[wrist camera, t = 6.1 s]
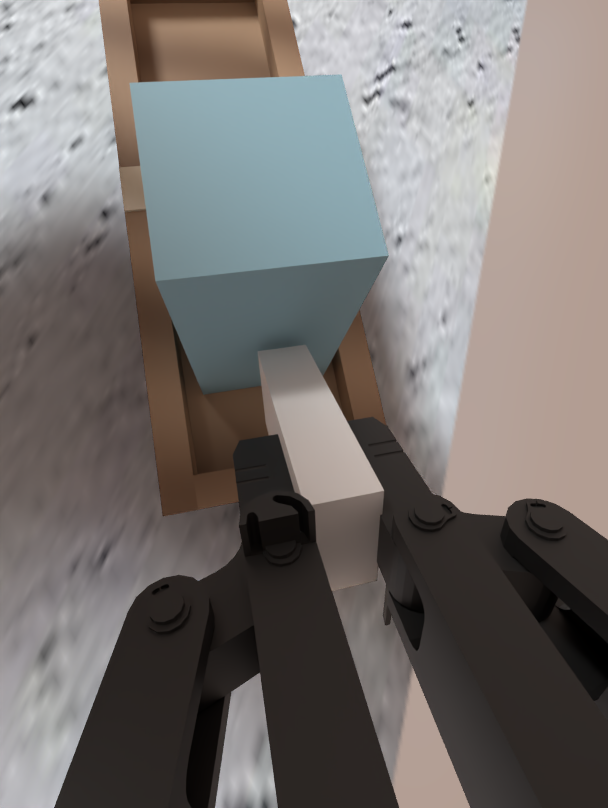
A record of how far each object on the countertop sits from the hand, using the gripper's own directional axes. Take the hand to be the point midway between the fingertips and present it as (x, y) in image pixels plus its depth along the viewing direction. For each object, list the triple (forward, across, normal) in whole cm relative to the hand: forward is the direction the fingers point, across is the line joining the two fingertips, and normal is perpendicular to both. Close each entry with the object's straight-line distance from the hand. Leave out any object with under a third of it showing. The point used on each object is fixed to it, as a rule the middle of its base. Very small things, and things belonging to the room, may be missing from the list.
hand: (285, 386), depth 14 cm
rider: (+5, 0, 0) cm, 5 cm away
